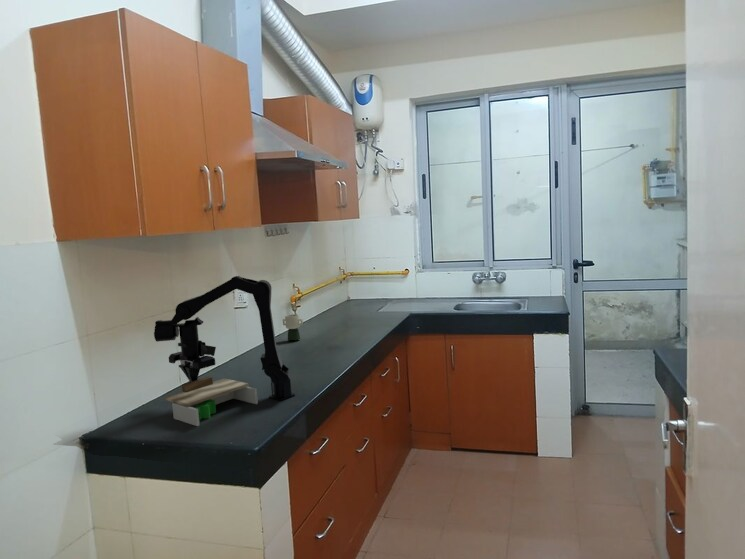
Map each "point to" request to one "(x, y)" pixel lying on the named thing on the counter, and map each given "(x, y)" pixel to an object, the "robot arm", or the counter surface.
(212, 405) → the pipe clamp
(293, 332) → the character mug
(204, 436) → the counter surface
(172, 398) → the lid
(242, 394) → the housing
